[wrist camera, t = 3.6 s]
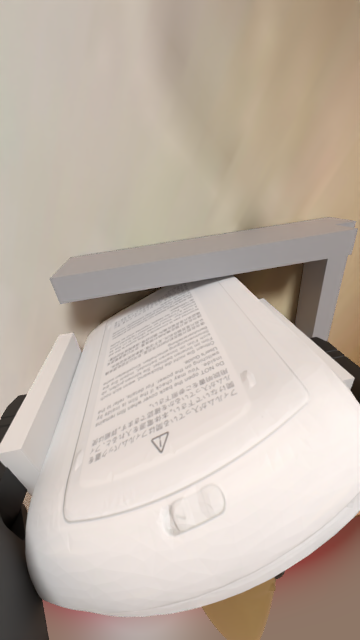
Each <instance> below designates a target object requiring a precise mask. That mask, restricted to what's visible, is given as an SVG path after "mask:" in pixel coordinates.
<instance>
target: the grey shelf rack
mask: <svg viewBox="0 0 360 640" xmlns="http://www.w3.org/2000/svg"><path fill="white" fill-rule="evenodd" d="M355 223H356V221H352V220H346V219H339V218H332V217H327V218H320V219H314V220H307V221H301V222H295V223H288V224H282V225H275V226H269V227H263V228H256V229H250V230H243V231H237V232H231V233H224V234H218V235H211V236H205V237H199V238H192V239H186V240H179V241H173V242H167V243H160V244H154V245H147V246H141V247H135V248H128V249H122V250H116V251H109V252H103V253H96V254H90V255H84V256H77V257H71V258H69V259H68V260H67V261H66V262H65V263H64V264H63V265H62V267H61V268H60V269H59V270H58V271H57V272H56V273H55V274H54V275H53V276H52V277H51V278H50V281H51V283H52V286H53V288H54V290H55V293H56V295H57V298H58V300H59V302H60V304H63V303H69V302H75V301H81V300H87V299H93V298H99V297H104V296H110V295H116V294H122V293H128V292H134V291H140V290H146V289H151V288H157V287H163V286H169V285H175V284H181V283H187V282H193V281H198V280H204V279H210V278H216V277H222V276H228V275H234V274H240V273H245V272H251V271H257V270H263V269H269V268H275V267H281V266H287V265H292V264H298V263H304V266H303V273H302V280H301V287H300V293H299V300H298V307H297V314H296V320H295V326H296V327H297V328H298V329H299V330H300V331H302V332H303V333H304V334H305V335H306V336H307V337H308V338H312V337H318V338H320V339H323V340H325V341H328V336H329V332H330V328H331V324H332V320H333V315H334V311H335V307H336V303H337V299H338V294H339V290H340V286H341V282H342V278H343V273H344V269H345V265H346V261H347V257H348V255H351V254H352V250H353V246H354V242H355V238H356V234H357V230H358V229H357V228H354V227H355Z"/></svg>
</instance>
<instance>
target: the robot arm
mask: <svg viewBox="0 0 360 640" xmlns="http://www.w3.org/2000/svg"><path fill="white" fill-rule="evenodd" d="M259 300H260V301H261V302H262V303H263V304H264V305H265V306H266V307H267V308H268V309H269V310H270V311H271V312H272V313H273V314H274V315H275V316H276V317H278V318H279V319H280V320H281V321H282V322H283V323H284V324H285V325H286V326H287V327H288V328H289V329H290V330H291V331H293V332H294V333H295V334H296V335H297V336H298V337H299V338H300V339H301V340H302V341H303V342H304V343H305V344H306V345H307V346H308V347H309V348H310V349H311V350H312V351H313V352H314V353H316V354H317V355H318V356H319V357H320V358H321V359H322V360H323V361H324V362H325V363H326V364H327V365H328V366H329V367H330V368H331V369H332V370H333V371H334V372H335V373H336V374H337V375H338V376H339V377H340V378H341V379H342V380H343V381H344V383H345V384H346V385H347V386H348V388H349V389H350V391H351V392H352V394H353V395H354V397H355V398H356V400H357V401H358V402H359V404H360V367H359V366H357V365H356V364H355V363H354V362H352V361H351V360H350V359H349V358H347V357H345V356H344V354H342V353H341V352H340V351H337V349H336V348H335V347H334V346H332V345H331V344H330V343H329V342H327V341H325V340H323V339H320V338H318V337H312V338H308V337H307V336H306V335H305V334H304V333H303V332H302V331H300V330H299V329H298V328H297V327H296V326H295V325H294V324H292V323H291V322H290V321H289V320H288V319H287V318H286V317H284V316H283V315H282V314H281V313H280V312H279V311H278V310H276V309H275V308H274V307H273V306H272V305H271V304H269V303H268V302H267V301H266V300H265V299H264V298H262V299H259ZM81 354H82V352H81V349H80V347H79V345H78V342H77V340H76V337H75V335H74V333H68V334H63V335H59V336H58V338H57V340H56V342H55V344H54V346H53V347H52V349H51V351H50V353H49V355H48V357H47V358H46V360H45V362H44V364H43V366H42V368H41V370H40V371H39V373H38V375H37V377H36V379H35V381H34V382H33V384H32V386H31V388H30V390H29V392H28V394H26V395H20V396H18V397H17V398H16V399H15V400H14V401H13V402H12V403H11V404H10V405H9V406H8V407H7V408H6V410H5V412H4V413H3V415H2V417H1V420H0V640H49V637H48V632H47V625H46V620H45V614H44V608H43V602H42V599H41V598H40V597H39V595H38V593H37V592H36V590H35V587H34V585H33V583H32V581H31V578H30V575H29V572H28V568H27V562H26V556H25V536H26V522H27V510H26V508H25V506H24V504H23V500H24V498H25V495H26V492H28V493H29V494H30V495H31V496H32V495H33V492H34V489H35V486H36V483H37V480H38V478H39V475H40V472H41V470H42V467H43V464H44V461H45V458H46V455H47V452H48V450H49V447H50V444H51V441H52V438H53V435H54V432H55V429H56V427H57V424H58V421H59V418H60V415H61V412H62V409H63V407H64V404H65V401H66V398H67V395H68V392H69V389H70V386H71V383H72V381H73V378H74V375H75V372H76V369H77V366H78V363H79V360H80V357H81Z"/></svg>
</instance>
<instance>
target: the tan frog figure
mask: <svg viewBox="0 0 360 640" xmlns="http://www.w3.org/2000/svg"><path fill="white" fill-rule="evenodd" d="M284 572H285V571H283V572H282V573H280V574H278V575H277V576H275V577H273V578H272V579H270V580H268V581H266V582H264V583H262V584H259V585H257V586H255V587H253V588H251V589H249V590H247V591H245V592H242V593H240V594H237V595H235V596H232V597H229V598H227V599H224V600H221V601H218V602H215V603H212V604H209V605H205V606H202V608H203V610H204V611H205V613H206V614H207V616H208V617H209V619H210V620H211V622H212V623H213V624H214V626H215V627H216V628H217V629H218V630H219V632H220V633H221V634H222V635H223V636H224V637H225V638H226V639H227V640H260V638H261V636H262V633H263V631H264V628H265V625H266V621H267V618H268V615H269V611H270V606H271V602H272V598H273V593H274V591H275V581H276V579H278V578H280V577H281V576H282V575H283V574H284Z"/></svg>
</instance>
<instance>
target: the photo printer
mask: <svg viewBox="0 0 360 640" xmlns="http://www.w3.org/2000/svg"><path fill="white" fill-rule="evenodd" d="M359 511H360V404H359V402H358V401H357V400H356V398H355V397H354V395H353V394H352V392H351V391H350V389H349V388H348V386H347V385H346V384H345V383H344V381H343V380H342V379H341V378H340V377H339V376H338V375H337V374H336V373H335V372H334V371H333V370H332V369H331V368H330V367H329V366H328V365H327V364H326V363H325V362H324V361H323V360H322V359H321V358H320V357H319V356H318V355H317V354H316V353H314V352H313V351H312V350H311V349H310V348H309V347H308V346H307V345H306V344H305V343H304V342H303V341H302V340H301V339H300V338H299V337H298V336H297V335H296V334H295V333H294V332H293V331H291V330H290V329H289V328H288V327H287V326H286V325H285V324H284V323H283V322H282V321H281V320H280V319H279V318H278V317H276V316H275V315H274V314H273V313H272V312H271V311H270V310H269V309H268V308H267V307H266V306H265V305H264V304H263V303H262V302H261V301H260V300H259V299H258V298H257V297H256V296H255V295H254V294H253V293H252V292H250V291H249V290H248V289H247V288H246V287H245V286H244V285H243V284H242V283H241V282H240V281H239V280H238V279H237V278H236V277H235V276H234V275H228V276H222V277H216V278H210V279H204V280H198V281H193V282H187V283H181V284H175V285H169V286H165V287H163V288H161V289H160V290H158V291H156V292H154V293H152V294H151V295H149V296H147V297H145V298H143V299H141V300H140V301H138V302H136V303H134V304H133V305H131V306H129V307H127V308H126V309H124V310H122V311H120V312H119V313H117V314H115V315H114V316H112V317H110V318H109V319H107V320H106V321H104V322H103V323H101V324H100V325H98V326H97V327H96V328H95V329H94V330H93V331H92V332H91V333H90V334H89V335H88V337H87V340H86V343H85V346H84V348H83V351H82V354H81V357H80V360H79V363H78V366H77V369H76V372H75V375H74V378H73V381H72V383H71V386H70V389H69V392H68V395H67V398H66V401H65V404H64V407H63V409H62V412H61V415H60V418H59V421H58V424H57V427H56V429H55V432H54V435H53V438H52V441H51V444H50V447H49V450H48V452H47V455H46V458H45V461H44V464H43V467H42V470H41V472H40V475H39V478H38V480H37V483H36V486H35V489H34V492H33V495H32V498H31V502H30V506H29V509H28V513H27V522H26V536H25V556H26V562H27V568H28V572H29V575H30V578H31V581H32V583H33V585H34V587H35V590H36V592H37V593H38V595H39V597H40V598H41V599H43V600H45V601H48V602H50V603H53V604H55V605H58V606H61V607H65V608H69V609H74V610H80V611H88V612H93V613H98V614H103V615H110V616H119V617H136V616H141V617H142V616H143V617H147V616H153V615H164V614H172V613H177V612H181V611H187V610H191V609H195V608H199V607H202V606H205V605H209V604H212V603H215V602H218V601H221V600H224V599H227V598H229V597H232V596H235V595H237V594H240V593H242V592H245V591H247V590H249V589H251V588H253V587H255V586H257V585H259V584H262V583H264V582H266V581H268V580H270V579H272V578H273V577H275V576H277V575H278V574H280V573H282V572H283V571H285V570H286V569H288V568H290V567H291V566H293V565H294V564H296V563H297V562H299V561H300V560H302V559H303V558H305V557H306V556H308V555H309V554H311V553H312V552H313V551H315V550H316V549H317V548H319V547H320V546H321V545H323V544H324V543H325V542H326V541H328V540H329V539H330V538H331V537H333V536H334V535H335V534H336V533H337V532H338V531H340V530H341V529H342V528H343V527H344V526H345V525H346V524H347V523H348V522H349V521H350V520H351V519H352V518H353V517H355V515H356V514H357V513H358V512H359Z"/></svg>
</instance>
